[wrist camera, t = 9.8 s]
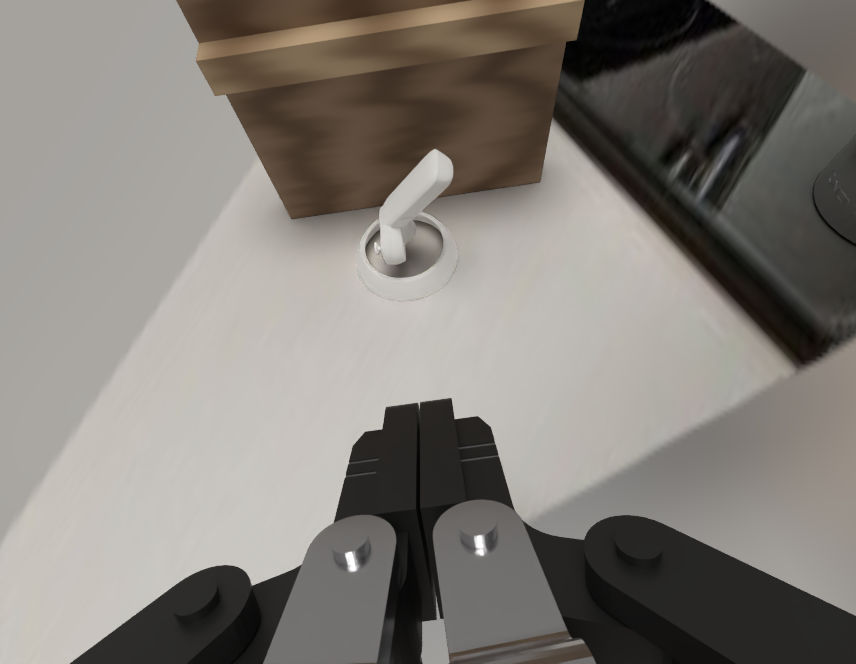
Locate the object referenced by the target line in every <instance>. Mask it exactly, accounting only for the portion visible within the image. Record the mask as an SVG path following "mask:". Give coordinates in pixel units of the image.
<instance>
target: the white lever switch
mask: <svg viewBox="0 0 856 664" xmlns="http://www.w3.org/2000/svg"><path fill="white" fill-rule="evenodd" d="M452 178H453V165H452V162H451V160H450V159H449V158H448V157H447V156H446V155H444V154H443V153H441V152H440V151H438V150H436V149H434V150H432V151H430V152H429V153H428V154H427V155H426V156H425V157H424V158H423V159H422V160H421V161H420V163H419V164H418V165H417V166H416V167H415V168H414V169H413V170H412V171H411V172H410V174H409V175H408V176H407V177H406V178H405V179H404V180H403V181H402V182H401V183H400V184H399V186H398V187H397V188H396V189H395V190H394V191H393V192H392V193H391V194H390V195H389V197H388V198H387V199H386V201H385V203H384V204H383V206H382V207H381V208H380V210H379V218H378V219H377V220H376V221H374V222H373V223H372V224H371V225H370V226H369V227H368V229H367V230H366V231H365V233H364V235H363V237H362V238H361V240H360V243H359V246H358V249H357V254H356V269H357V273H358V275H359V278H360V280H361V281H362V282H363V284H364V285H365V286H366V287H367V288H368V289H369V290H370V291H371V292H373V293H374V294H376V295H378V296H380V297H382V298H385V299H388V300H394V301H413V300H418V299H422V298H424V297H427V296H429V295H431V294H433V293H435V292H436V291H438V290H439V289H441V288H442V287H443V286H444V285H445V284H446V283H447V282H448V281H449V279H450V278H451V277H452V275H453V273H454V271H455V269H456V266H457V261H458V249H457V245H456V242H455V240H454V238H453V236H452V235H451V233H450V232H449V230H448V229H447V228H446V227H445V226H444V225H443V224H442V223H441V222H440V221H438V220H437V219H436V218H434V217H433V216H431V215H429V214H427V213H425V212H421V211H422V210H423V209H424V208H426V207H427V206H428V205H429V204H430V203H431V202H432V201H433V200H434V199H435V198H436V197H438V196H439V195H440V194H441V193H442V192H443V191H444V190H445V189H446V188H447V187H448V186H449V185H450V183H451V181H452ZM413 220H414V221H422V222H425V223H428V224H431V225H433V226H434V227H436V228H437V229H438V230H439V231H440V232H441V234H442V237H443V249H442V253H441V255H440V257H439V259H438V260H437V261H436V263H435V264H434V265H433V266H432V267H430V268H429V269H428V270H426V271H425V272H423V273H421V274H418V275H416V276H412V277H407V278H396V277H390V276H387V275H384V274H382V273H380V272H378V271H377V270H376V269H375V268H373V267H372V265H371V264H370V263H369V261H368V259H367V256H366V251H365V248H366V245H367V243H368V241H369V239H370V238H371V237H372V236H373V235H374V234H375V233H376V232H377V231H379V230H380V234H381V239H380V245H378V243H377V242H374V250H375V254H376V255H379V252H382V256H383V258H384V260H385V263H386V264H391V265H398V264H401V263H403V262H405V261H406V249H405V244H406V243H408V242H409V241H411V240H412V239H413V237H414V235H415V232H416V225H415V223H414V221H413Z"/></svg>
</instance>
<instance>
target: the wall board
mask: <svg viewBox="0 0 856 664" xmlns="http://www.w3.org/2000/svg"><path fill="white" fill-rule="evenodd" d="M177 2H178V4H179V6H180V8H181V10H182V12H183V14H184V16H185V18H186V20H187V21H188V23H189V25H190V27H191V29H192V31H193V33H194V35H195V37H196V39H197V41H198V42H199V46H198V53H197V58H196V62H197V64H198V66H199V68H200V69H201V71H202V73H203V75H204V77H205V78H206V80H207V82H208V84H209V86H210V87H211V89H212V91H213V93H214V95H215V96H219V95H226V96H227V97H228V99H229V101H230V103H231V105H232V107H233V109H234V111H235V113H236V115H237V117H238V118H239V120H240V122H241V124H242V126H243V128H244V130H245V132H246V134H247V136H248V137H249V139H250V141H251V143H252V145H253V147H254V148H255V151H256V152H257V155H258V156H259V158H260V160H261V162H262V164H263V166H264V168H265V170H266V172H267V174H268V175H269V177H270V179H271V181H272V183H273V185H274V187H275V189H276V191H277V193H278V194H279V196H280V198H281V200H282V202H283V204H284V206H285V208H286V210H287V212H288V213H289V215H290V217H291V219H295V218H302V217H309V216H315V215H322V214H329V213H335V212H342V211H349V210H355V209H362V208H369V207H376V206H382V205H383V204H384V203H385V201H386V199H387V198H388V197H389V195H390V194H391V193H392V192H393V191H394V190H395V189H396V188H397V187H398V186H399V184H400V183H401V182H402V181H403V180H404V179H405V178H406V177H407V176H408V175H409V174H410V172H411V171H412V170H413V169H414V168H415V167H416V166H417V165H418V164H419V163H420V161H421V160H422V159H423V158H424V157H425V156H426V155H427V154H428V153H429V152H430V151H432V150H434V149H436V150H438V151H440V152H441V153H443V154H444V155H446V156H447V157H448V158H449V159H450V160H451V162H452V165H453V178H452V181H451V183H450V185H449V186H448V187H447V188H446V189H445V190H444V191H443V192H442V193H441V194H440V195H439V196H438V197H442V196H449V195H456V194H463V193H469V192H476V191H483V190H489V189H496V188H503V187H509V186H516V185H523V184H530V183H536V182H540V180H541V175H542V169H543V164H544V158H545V153H546V147H547V142H548V137H549V131H550V126H551V120H552V115H553V110H554V104H555V99H556V93H557V88H558V82H559V77H560V72H561V66H562V61H563V55H564V50H565V45H566V41H573V40H576V39H577V34H578V30H579V25H580V20H581V15H582V10H583V5H584V0H177Z"/></svg>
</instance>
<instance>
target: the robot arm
mask: <svg viewBox="0 0 856 664" xmlns="http://www.w3.org/2000/svg"><path fill="white" fill-rule="evenodd" d="M813 194H814V199H815V203H816V206H817V208H818V210H819V212H820V214H821V215H822V216H823V217H824V219H825V220H826V221H827V222H828V224H829V225H830V226H831V227H833V228H834V229H835V230H836V231H837V232H838V233H839V234H841V235H842V236H844V237H845V238H847V239H849V240H850V241H852V242H853V243H855V244H856V135H855V136H854V137H853V138H852V139H851V140H850V141H849V142H848V144H847V145H846V146H845V147H844V148H843V149H842V150H841V151H840V152H839V154H838V155H837V156H836V157H835V158H834V159H833V160H832V161H831V162H830V163H829V165H828V166H827V167H826V168H825V169H824V170H823V171H822V172H821V173H820V174H819V176H818V178H817V180H816V182H815V184H814V193H813ZM436 597H437V603H438V608H439V613H440V618H441V619H444V623H445V630H446V638H447V645H448V652H449V660H450V663H449V664H856V616H854V615H852V614H850V613H848V612H846V611H844V610H842V609H840V608H838V607H836V606H834V605H832V604H830V603H827V602H825V601H823V600H821V599H819V598H817V597H815V596H813V595H810V594H808V593H807V592H804V591H802V590H800V589H798V588H796V587H794V586H792V585H790V584H788V583H786V582H784V581H781V580H779V579H777V578H775V577H773V576H771V575H769V574H767V573H765V572H763V571H760V570H758V569H756V568H754V567H752V566H750V565H748V564H746V563H744V562H742V561H739V560H738V559H735V558H733V557H731V556H729V555H727V554H725V553H723V552H721V551H719V550H716V549H714V548H712V547H710V546H708V545H706V544H704V543H702V542H700V541H698V540H696V539H694V538H691V537H689V536H687V535H685V534H683V533H681V532H679V531H676V530H675V529H673V528H671V527H668V526H666V525H664V524H662V523H659V522H657V521H655V520H651V519H648V518H645V517H639V516H630V515H623V516H614V517H609V518H606V519H603V520H601V521H600V522H597V523H596V524H595V525H593V526H592V527H591V529H590V530H589V531H588V532H587V534H586V536H585V540H578V539H571V538H564V537H558V536H552V535H549V534H545V533H543V532H540V531H538V530H536V529H534V528H532V527H531V526H529V525H528V524H526V523H525V522H524V521H523V520H522V519H521V518H520V516H519V515H518V514H517V513H516V511H515V510H514V507H513V504H512V501H511V497H510V494H509V490H508V487H507V483H506V480H505V476H504V473H503V469H502V465H501V462H500V458H499V456H498V451H497V448H496V445H495V441H494V437H493V434H492V430H491V427H490V426H489V425H487V424H486V423H485V422H484V421H483V420H482V419H480V418H479V417H478V416H476V417H469V418H462V419H454V412H453V406H452V399H451V398H448V399H441V400H434V401H426V402H420V409H419V405H418V403H413V404H405V405H398V406H391V407H386V410H385V417H384V423H383V429H382V430H375V431H368V432H365V433H364V434H363V435H362V436H361V437H360V438H359V440H358V441H357V442H356V443H355V444H354V445H353V448H352V452H351V456H350V460H349V465H348V468H347V472H346V478H345V480H344V484H343V488H342V492H341V496H340V500H339V504H338V508H337V512H336V516H335V520H334V523H333V524H331V525H330V526H328V527H327V528H325V529H324V530H323V531H322V532H320V533H319V534H318V535H317V536H316V538H315V539H314V540H313V541H312V543H311V544H310V546H309V548H308V550H307V553H306V555H305V558H304V560H303V563H302V565H300V566H299V567H297V568H295V569H293V570H291V571H288V572H286V573H284V574H281V575H279V576H276V577H274V578H271V579H268V580H266V581H263V582H261V583H258V584H256V585H253V586H252V584H251V582H250V579H249V577H248V575H247V573H246V572H245V571H244V570H242V569H240V568H238V567H235V566H229V565H223V566H215V567H211V568H207V569H204V570H201V571H199V572H197V573H195V574H192V575H191V576H189V577H187V578H185V579H184V580H182V581H181V582H179V583H178V584H176V585H175V586H174V587H172V588H171V589H170V590H168V591H167V592H165V593H164V594H163V595H161V596H160V597H159V598H157V599H156V600H155V601H153V602H152V603H151V604H149V605H148V606H147V607H145V608H144V609H143V610H141V611H140V612H139V613H137V614H136V615H135V616H133V617H132V618H131V619H129V620H128V621H126V622H125V623H124V624H122V625H121V626H120V627H118V628H117V629H116V630H114V631H113V632H112V633H110V634H109V635H108V636H106V637H105V638H104V639H102V640H101V641H100V642H98V643H97V644H96V645H94V646H93V647H91V648H90V649H89V650H87V651H86V652H85V653H83V654H82V655H81V656H79V657H78V658H77V659H75V660H74V661H73V662H71V663H70V664H422V659H421V652H422V621H430V620H436V618H437V617H436Z"/></svg>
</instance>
